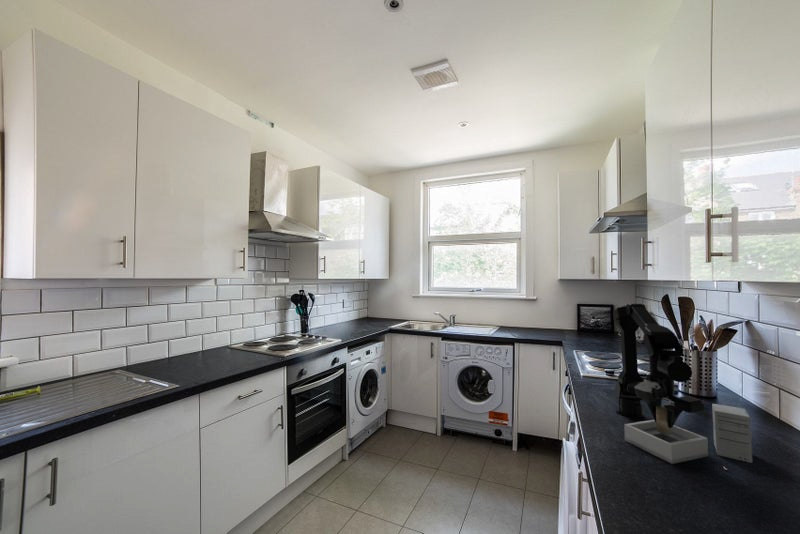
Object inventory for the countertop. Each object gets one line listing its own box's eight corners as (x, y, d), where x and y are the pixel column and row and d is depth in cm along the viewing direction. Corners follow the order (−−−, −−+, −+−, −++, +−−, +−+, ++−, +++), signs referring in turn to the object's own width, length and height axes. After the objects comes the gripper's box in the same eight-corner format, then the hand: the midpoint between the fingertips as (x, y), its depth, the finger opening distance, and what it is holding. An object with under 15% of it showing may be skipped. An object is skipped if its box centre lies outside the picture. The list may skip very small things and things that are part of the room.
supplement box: (713, 445, 102) (711, 402, 102) (748, 452, 97) (746, 408, 98) (715, 455, 96) (713, 410, 96) (753, 463, 91) (750, 416, 92)
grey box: (624, 440, 105) (624, 424, 105) (658, 434, 109) (657, 418, 109) (671, 463, 91) (671, 445, 92) (708, 456, 95) (707, 438, 95)
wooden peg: (653, 430, 102) (652, 406, 102) (662, 428, 103) (661, 405, 103) (665, 435, 98) (664, 410, 98) (674, 433, 99) (673, 409, 99)
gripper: (613, 366, 108) (614, 416, 107) (674, 384, 90) (676, 443, 89) (639, 364, 111) (641, 412, 110) (704, 380, 93) (706, 437, 92)
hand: (663, 424), depth 100 cm, fingers closed on wooden peg, 3 cm apart
